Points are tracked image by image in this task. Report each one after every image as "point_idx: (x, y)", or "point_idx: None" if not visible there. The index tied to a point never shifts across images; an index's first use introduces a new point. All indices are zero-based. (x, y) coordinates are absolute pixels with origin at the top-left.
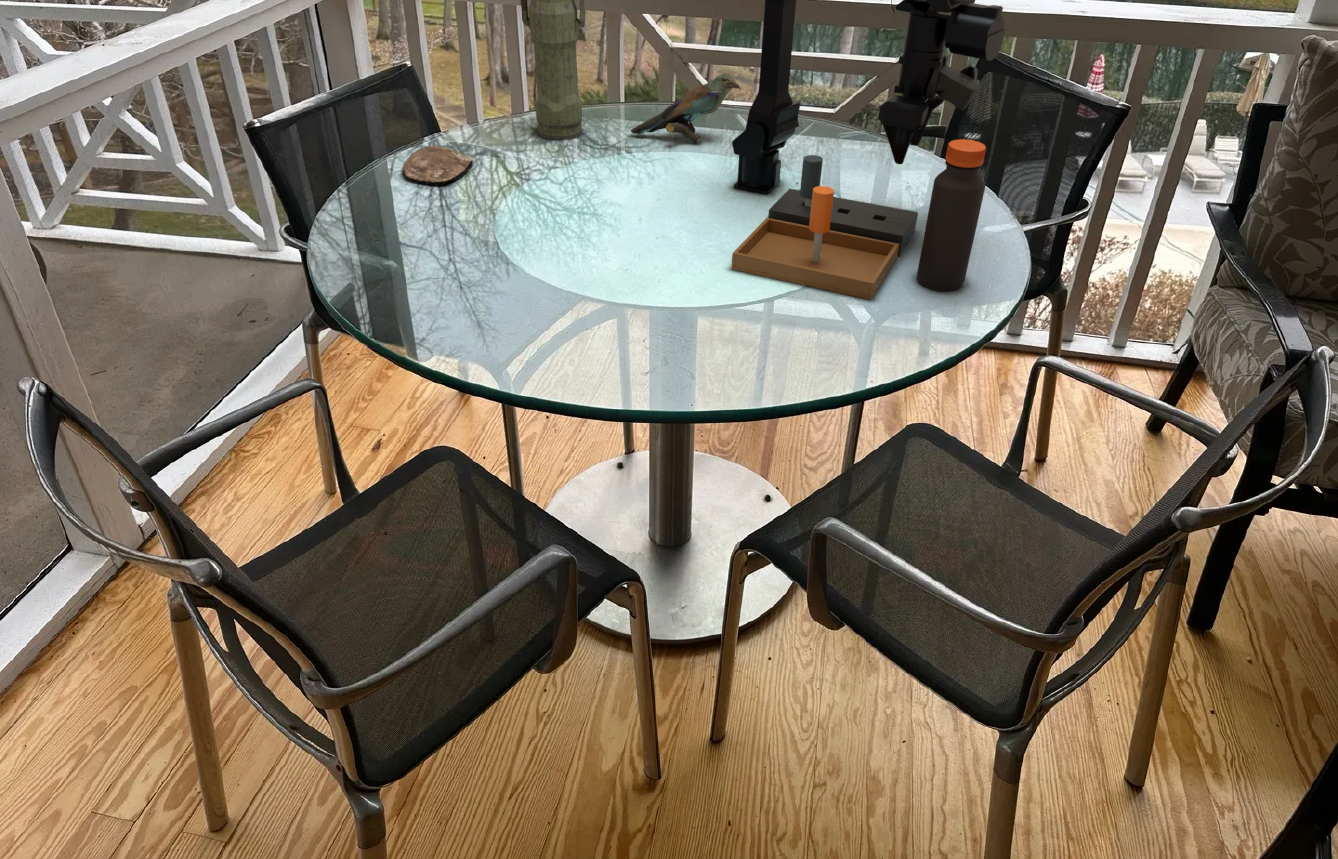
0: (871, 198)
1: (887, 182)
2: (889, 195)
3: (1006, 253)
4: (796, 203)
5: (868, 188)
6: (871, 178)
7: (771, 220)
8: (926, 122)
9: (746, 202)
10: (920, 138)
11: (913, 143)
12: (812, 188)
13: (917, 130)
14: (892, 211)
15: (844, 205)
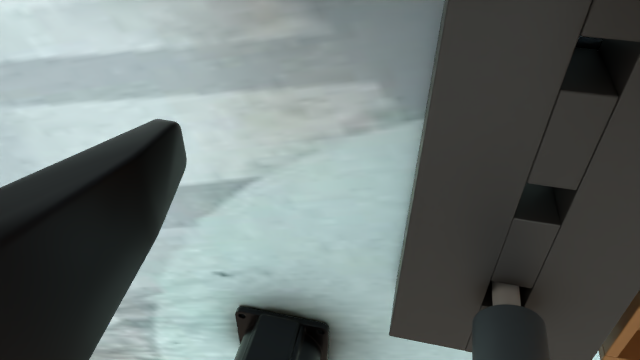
0: (199, 93)
1: (39, 63)
2: (135, 39)
3: None
4: None
5: (128, 112)
6: (50, 114)
7: (620, 352)
8: (16, 236)
9: (395, 351)
10: (143, 146)
11: (182, 158)
12: (548, 356)
13: (114, 224)
14: (500, 19)
15: (484, 205)
